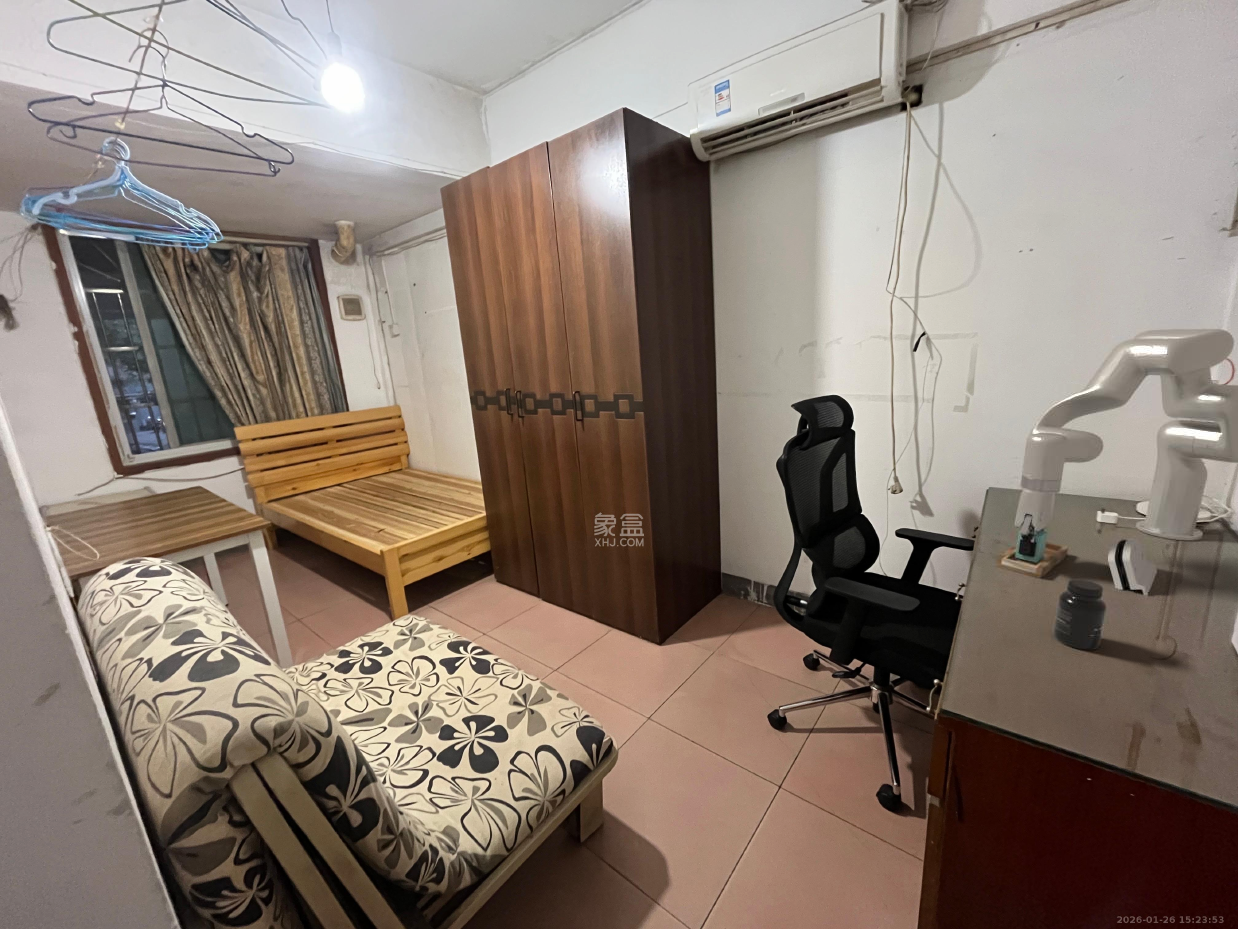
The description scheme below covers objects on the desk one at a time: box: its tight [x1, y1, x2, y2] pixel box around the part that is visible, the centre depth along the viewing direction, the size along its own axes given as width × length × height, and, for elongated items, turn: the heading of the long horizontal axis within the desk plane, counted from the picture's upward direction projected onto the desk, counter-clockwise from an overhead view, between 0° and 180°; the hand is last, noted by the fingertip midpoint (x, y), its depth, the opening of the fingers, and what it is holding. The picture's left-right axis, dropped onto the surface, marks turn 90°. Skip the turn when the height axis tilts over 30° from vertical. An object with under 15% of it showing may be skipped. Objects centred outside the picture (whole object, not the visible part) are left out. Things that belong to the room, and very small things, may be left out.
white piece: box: [1107, 538, 1158, 597], centre depth 117 cm, size 17×5×10 cm, turn 129°
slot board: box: [995, 541, 1069, 579], centre depth 129 cm, size 19×9×2 cm, turn 125°
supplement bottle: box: [1052, 578, 1108, 651], centre depth 96 cm, size 7×7×12 cm
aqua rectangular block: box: [1015, 528, 1048, 563], centre depth 126 cm, size 4×4×7 cm
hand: (1030, 551), depth 127 cm, fingers closed on aqua rectangular block, 4 cm apart
